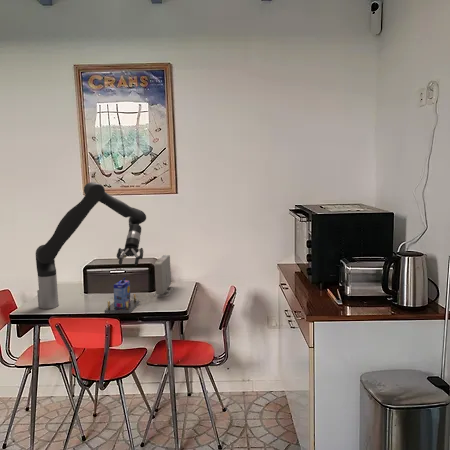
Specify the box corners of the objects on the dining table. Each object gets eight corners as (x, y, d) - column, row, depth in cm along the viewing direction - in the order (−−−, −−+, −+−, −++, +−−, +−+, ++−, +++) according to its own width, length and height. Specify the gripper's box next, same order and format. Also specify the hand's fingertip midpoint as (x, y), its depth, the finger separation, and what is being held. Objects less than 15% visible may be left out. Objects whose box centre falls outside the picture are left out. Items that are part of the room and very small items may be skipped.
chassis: (104, 313, 223) (104, 302, 222) (115, 303, 239) (115, 293, 239) (130, 313, 222) (129, 302, 221) (139, 303, 238) (138, 293, 238)
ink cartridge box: (124, 308, 225) (122, 280, 224) (113, 307, 226) (112, 280, 225) (131, 302, 235) (129, 275, 233) (121, 302, 236) (120, 275, 234)
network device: (166, 298, 247) (165, 263, 245) (151, 298, 248) (149, 263, 245) (174, 286, 272) (173, 254, 270) (160, 286, 273) (159, 254, 271)
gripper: (119, 237, 249) (113, 260, 239) (143, 236, 248) (139, 260, 238) (122, 244, 255) (117, 268, 245) (146, 244, 254) (142, 268, 244)
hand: (128, 264), depth 242 cm, fingers open, 8 cm apart
